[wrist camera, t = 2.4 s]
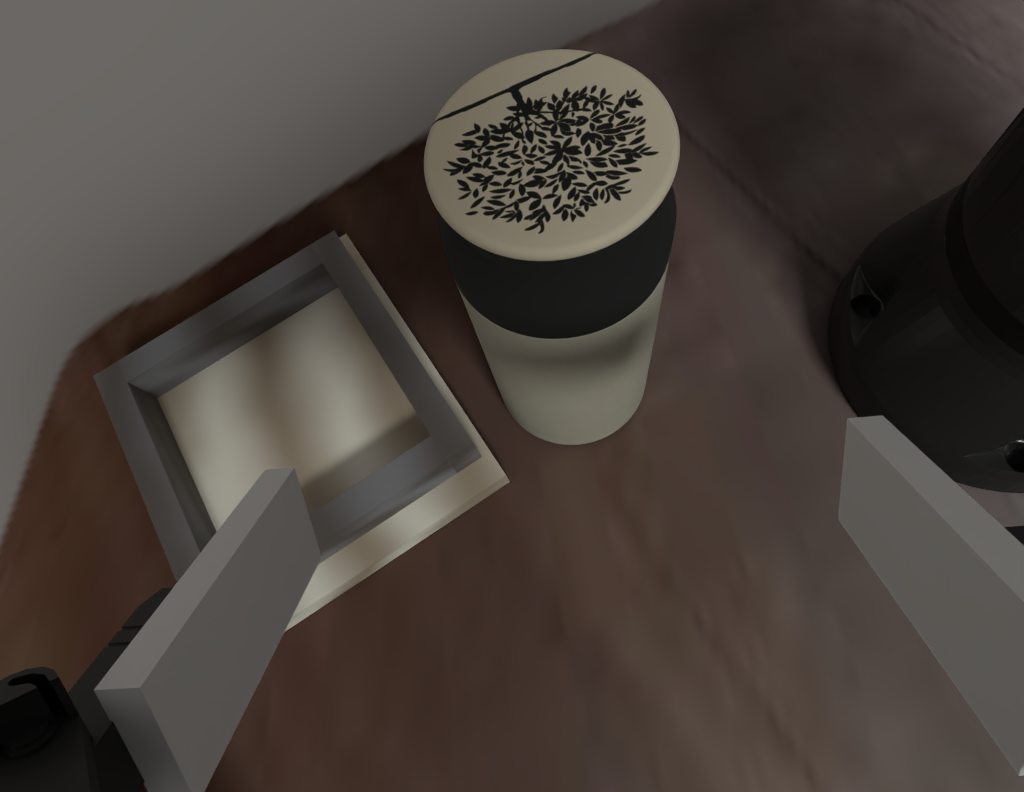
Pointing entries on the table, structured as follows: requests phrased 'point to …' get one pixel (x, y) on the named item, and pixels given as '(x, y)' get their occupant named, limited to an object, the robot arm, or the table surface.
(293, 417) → the board
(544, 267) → the travel mug
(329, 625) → the table surface
